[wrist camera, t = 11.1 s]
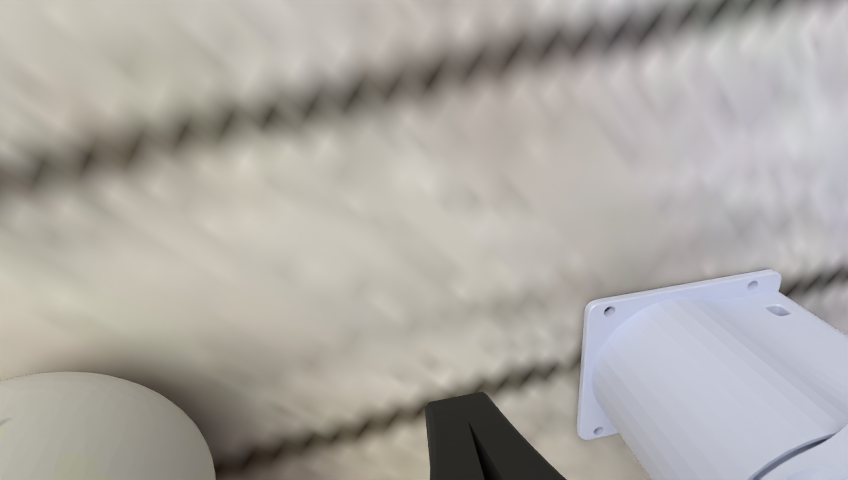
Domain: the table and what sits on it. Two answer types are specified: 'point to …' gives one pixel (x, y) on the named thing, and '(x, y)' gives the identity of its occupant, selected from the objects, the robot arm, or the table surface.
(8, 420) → the teacup
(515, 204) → the table surface
